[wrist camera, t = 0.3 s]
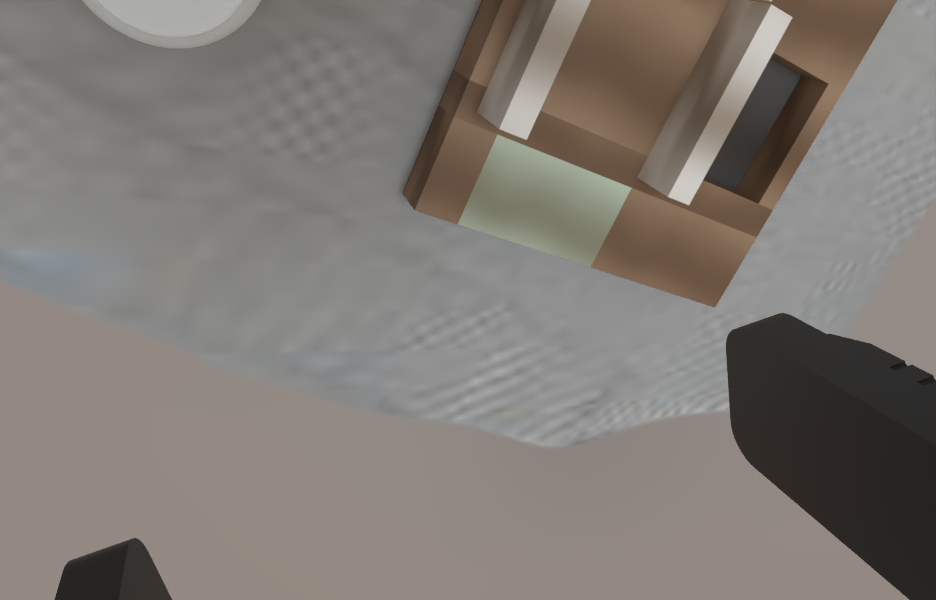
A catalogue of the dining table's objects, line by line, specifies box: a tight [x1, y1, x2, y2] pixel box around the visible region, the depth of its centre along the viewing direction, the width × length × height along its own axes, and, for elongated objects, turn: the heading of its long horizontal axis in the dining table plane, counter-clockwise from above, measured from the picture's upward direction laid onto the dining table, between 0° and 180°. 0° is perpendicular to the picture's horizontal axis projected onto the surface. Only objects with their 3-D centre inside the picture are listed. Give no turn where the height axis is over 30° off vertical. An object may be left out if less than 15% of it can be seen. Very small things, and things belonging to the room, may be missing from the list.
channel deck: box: [403, 0, 897, 307], centre depth 31 cm, size 17×17×4 cm
